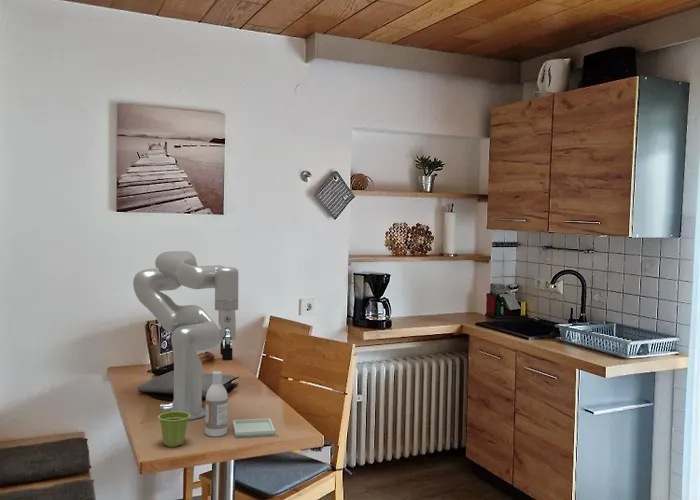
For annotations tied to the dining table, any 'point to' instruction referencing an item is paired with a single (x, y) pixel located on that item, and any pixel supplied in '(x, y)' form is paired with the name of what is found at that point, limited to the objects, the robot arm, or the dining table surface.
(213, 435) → the bath foam
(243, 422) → the tray
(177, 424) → the plant pot
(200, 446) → the dining table surface
